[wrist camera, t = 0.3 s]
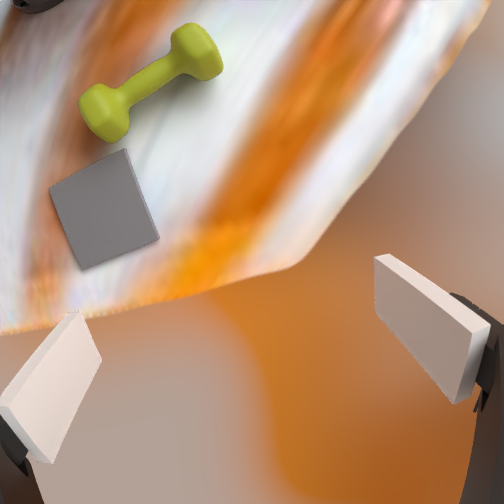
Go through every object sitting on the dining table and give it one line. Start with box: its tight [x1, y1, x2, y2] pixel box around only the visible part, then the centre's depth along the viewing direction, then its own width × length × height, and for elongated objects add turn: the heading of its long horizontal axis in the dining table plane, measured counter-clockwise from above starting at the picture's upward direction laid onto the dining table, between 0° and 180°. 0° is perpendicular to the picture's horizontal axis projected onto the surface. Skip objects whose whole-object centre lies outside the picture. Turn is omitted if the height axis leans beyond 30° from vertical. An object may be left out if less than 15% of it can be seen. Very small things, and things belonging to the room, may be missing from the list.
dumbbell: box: [78, 23, 223, 143], centre depth 30 cm, size 16×8×7 cm, turn 121°
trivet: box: [49, 149, 160, 270], centre depth 36 cm, size 12×12×1 cm
